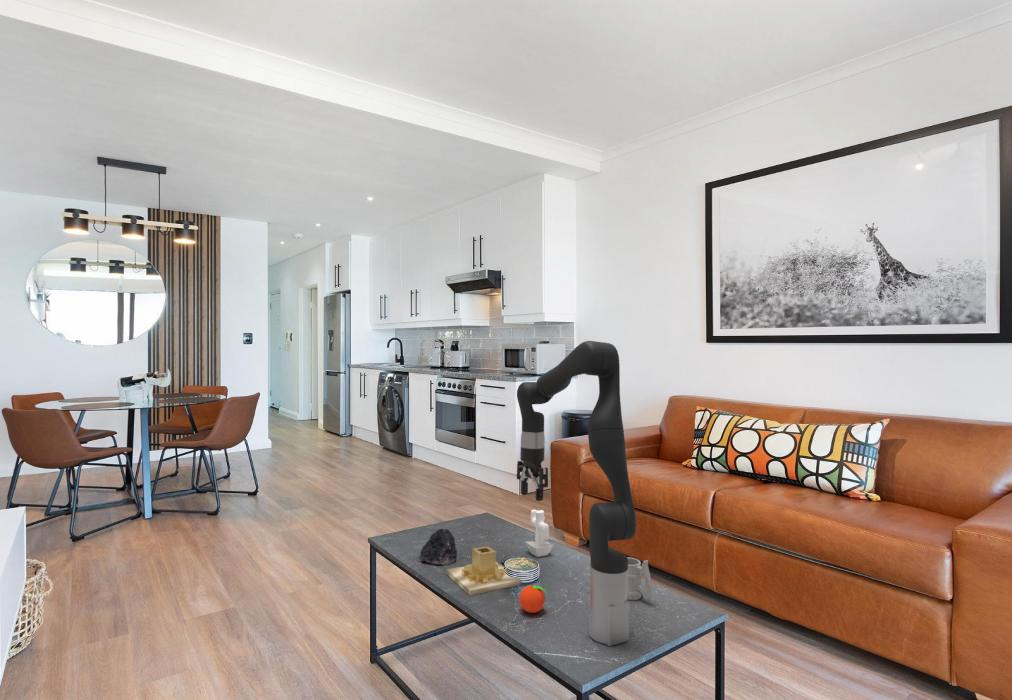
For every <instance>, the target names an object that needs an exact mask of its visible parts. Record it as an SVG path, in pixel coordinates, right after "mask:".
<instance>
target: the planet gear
mask: <svg viewBox="0 0 1012 700" xmlns="http://www.w3.org/2000/svg"><path fill="white" fill-rule="evenodd" d="M471 553H472V554H471V563H468V564H466V565H465V566H466V567H464V569H462V575H463V576H467V575H468V580H469V581H470V582H472V581H475V582H476V583H478V582H482V583H483V584H484V583H488V580H493V579H495V580H496V581H499V580H501V578H503V575H505V570H504V569H503V568H502V569H498V564H496V562H497V551H496V550H494V549H493V548H491V547H489V546H488V545H487V546H481V547H475V548H472V549H471Z"/></svg>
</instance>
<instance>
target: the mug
mask: <svg viewBox="0 0 1012 700" xmlns="http://www.w3.org/2000/svg"><path fill="white" fill-rule="evenodd" d="M626 557H627V556H626ZM627 558H628V581H627V601H636V600H639V599H641V597H642V596H643V597H642V598H644V600H648V599H649V598H650V596H651V595H652V588H653V582H652V578H651V573H650V569H649V564H648V563H649V560H647V559H646V560H643V562H642V563H641V561H640V560H639V559H637V558H634V557H627ZM642 576H643V579H644V581H645V583H644V586H643V585H642Z"/></svg>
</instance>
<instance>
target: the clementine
mask: <svg viewBox="0 0 1012 700" xmlns="http://www.w3.org/2000/svg"><path fill="white" fill-rule="evenodd" d="M544 592H545V593H546V594H547V595H549V594H548V593H549V592H548V591H547V590H546V589H544V588H543V587H541V586H538V585H535V584H529V585H527V586H524V588H523V589H521V592H520V594H519V604H520V607H521V608H522V609H523V610H524V611H525V612H527V613H530V614H534V613H535V614H536V613H537V612H539V611H541V610H542V609H543V608H544V605H545V603H546V602H545V601H546V597H545V593H544Z"/></svg>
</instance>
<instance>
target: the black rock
mask: <svg viewBox="0 0 1012 700" xmlns="http://www.w3.org/2000/svg"><path fill="white" fill-rule="evenodd" d="M457 557H458V551H457V547H456V540H455V537H454V536H453V534H452V532H451V531H450V530H449V529H447V528H438V529H437V530H436V531H435V532H433V533H432V534H431V535H430V537H429V539H428V541H426V542H425V544H424V545H423V546H422V549H421V550H420V557H419V560H420V559H421V560H420V561H421V562H423V561H425V563H428V564H433V565H443V566H445V565H444V564H446V565H450V564H452V563H454V562H455V561H456V560H457Z"/></svg>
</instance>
